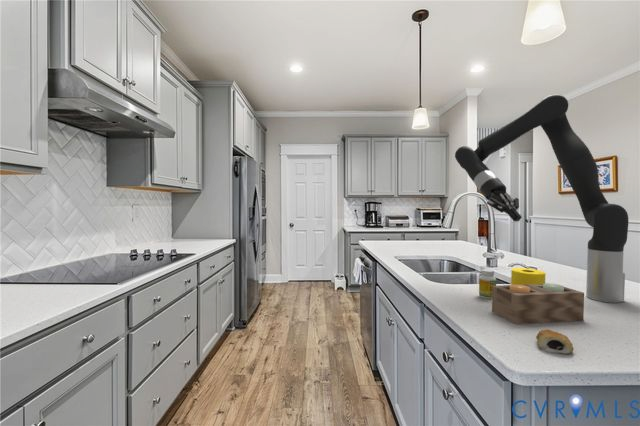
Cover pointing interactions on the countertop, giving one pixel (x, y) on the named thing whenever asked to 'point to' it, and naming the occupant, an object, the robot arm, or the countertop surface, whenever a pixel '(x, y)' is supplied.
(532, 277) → the tape roll
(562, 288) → the sage button
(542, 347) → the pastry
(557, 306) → the wooden compartment box
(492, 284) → the supplement bottle
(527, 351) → the countertop surface
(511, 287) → the orange button
